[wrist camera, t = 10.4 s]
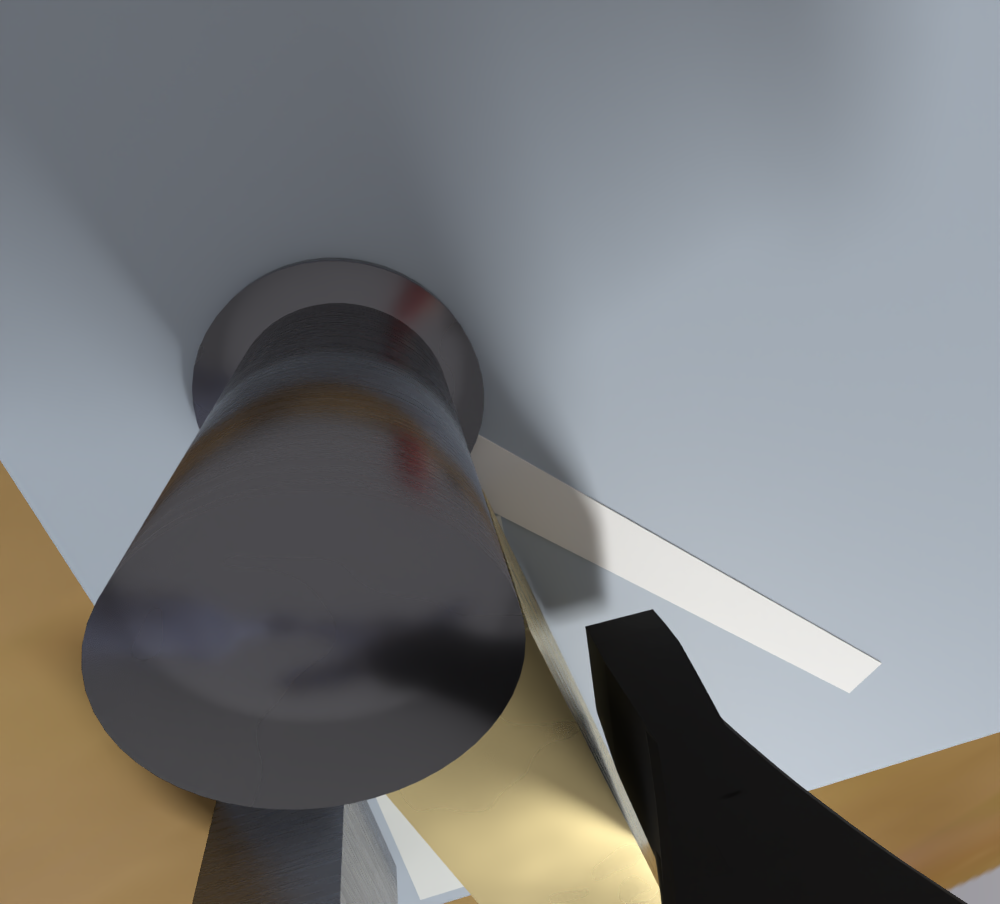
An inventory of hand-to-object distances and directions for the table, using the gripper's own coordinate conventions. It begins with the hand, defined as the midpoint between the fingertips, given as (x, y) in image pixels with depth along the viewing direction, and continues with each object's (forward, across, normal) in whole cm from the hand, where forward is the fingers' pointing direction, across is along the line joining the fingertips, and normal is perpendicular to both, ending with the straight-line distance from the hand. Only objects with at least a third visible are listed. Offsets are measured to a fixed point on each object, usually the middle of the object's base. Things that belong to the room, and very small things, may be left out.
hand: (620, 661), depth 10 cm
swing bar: (+1, +2, +2) cm, 3 cm away
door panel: (+2, -2, -1) cm, 3 cm away
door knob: (+2, +3, -5) cm, 6 cm away
